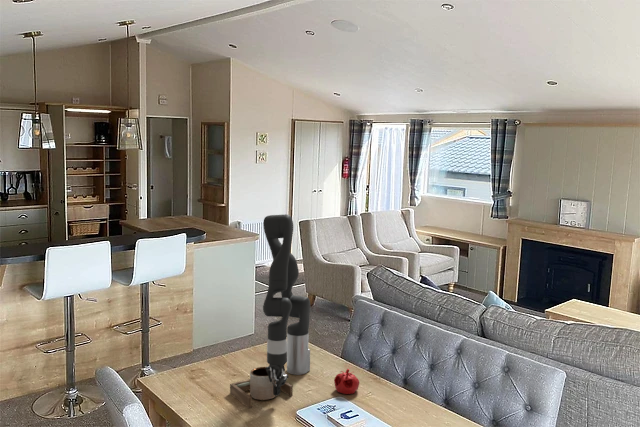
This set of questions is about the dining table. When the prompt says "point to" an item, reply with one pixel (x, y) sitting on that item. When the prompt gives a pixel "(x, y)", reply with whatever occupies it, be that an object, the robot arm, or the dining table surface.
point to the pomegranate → (346, 382)
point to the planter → (260, 384)
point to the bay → (240, 387)
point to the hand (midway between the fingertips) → (276, 394)
